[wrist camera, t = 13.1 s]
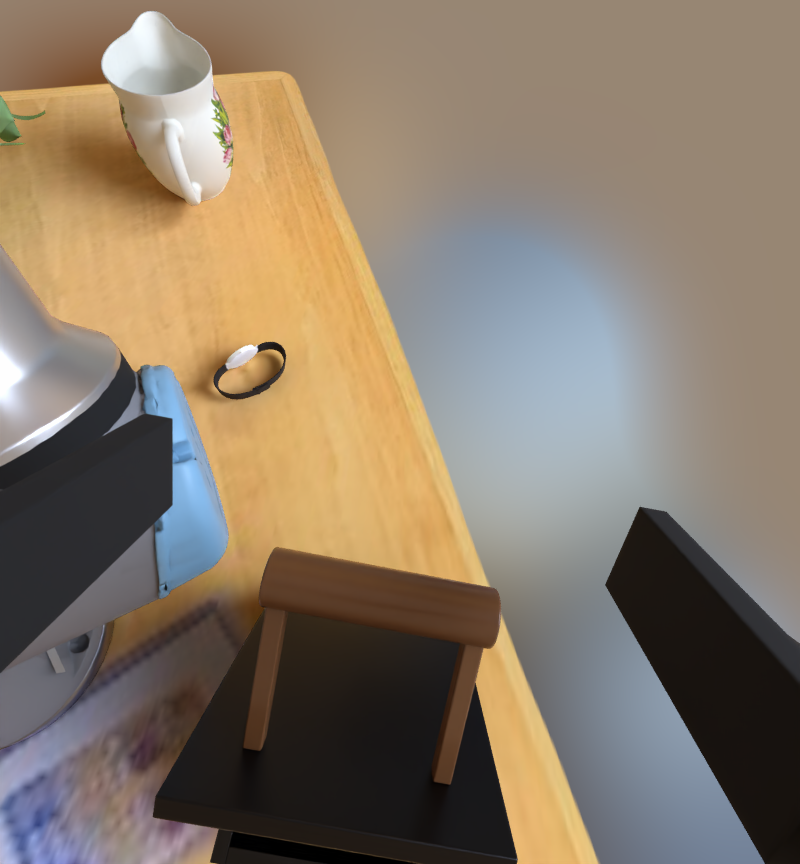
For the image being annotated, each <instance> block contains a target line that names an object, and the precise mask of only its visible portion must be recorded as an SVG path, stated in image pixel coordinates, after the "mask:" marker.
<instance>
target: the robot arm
mask: <svg viewBox="0 0 800 864" xmlns="http://www.w3.org/2000/svg"><path fill="white" fill-rule="evenodd" d="M227 544H228V528H227V524H226V519H225V515H224V511H223V507H222V503H221V500H220V496H219V493H218V490H217V486H216V483H215V480H214V477H213V473H212V470H211V467H210V464H209V461H208V458H207V455H206V452H205V449H204V446H203V444H202V441H201V438H200V435H199V432H198V429H197V426H196V424H195V421H194V418H193V416H192V413H191V410H190V408H189V405H188V403H187V400H186V398H185V395H184V393H183V390H182V388H181V386H180V384H179V382H178V381H177V380H176V378H175V376H174V372H173V371H172V370H171V369H170V368H169V367H167V366H164V365H158V366H150V365H144V366H141V369H140V370H138V371H137V372H135V371H133V370H132V368H131V367H130V365H129V364H128V362H127V361H126V359H125V358H124V356H123V355H122V353H121V352H120V350H119V348H118V347H117V346H116V344H115V343H114V342H113V341H112V340H111V338H110V337H109V336H107V335H105V334H103V333H101V332H98V331H94V330H91V329H87V328H84V327H80V326H76V325H73V324H69V323H66V322H62V321H61V320H59V319H57V318H55V317H53V316H52V315H51V314H50V313H49V311H48V310H47V309H46V307H45V306H44V304H43V303H42V302H41V300H40V299H39V297H38V296H37V295H36V293H35V292H34V290H33V289H32V288H31V286H30V285H29V283H28V282H27V281H26V279H25V278H24V276H23V275H22V274H21V272H20V271H19V269H18V268H17V267H16V265H15V264H14V262H13V261H12V260H11V258H10V257H9V255H8V254H7V253H6V251H5V250H4V248H3V247H2V246H1V244H0V750H1V749H3V748H6V747H9V746H12V745H14V744H16V743H19V742H21V741H23V740H25V739H27V738H29V737H31V736H33V735H35V734H37V733H38V732H40V731H41V730H43V729H45V728H46V727H47V726H49V725H50V724H52V723H53V722H54V721H56V720H57V719H58V718H59V717H60V716H61V715H63V714H64V713H65V712H66V711H67V710H68V709H69V708H70V707H71V706H72V705H73V704H74V703H75V702H76V701H77V700H78V698H79V697H80V696H81V695H82V694H83V693H84V691H85V690H86V689H87V687H88V686H89V685H90V683H91V681H92V680H93V678H94V677H95V675H96V674H97V672H98V670H99V668H100V666H101V664H102V662H103V660H104V658H105V655H106V653H107V650H108V647H109V644H110V641H111V637H112V633H113V626H114V619H116V618H118V617H121V616H123V615H125V614H127V613H129V612H131V611H133V610H136V609H138V608H140V607H142V606H144V605H146V604H149V603H151V602H153V601H155V600H157V599H162V598H164V597H166V596H168V595H169V593H170V592H171V590H173V589H175V588H177V587H178V586H180V585H182V584H184V583H186V582H187V581H189V580H191V579H193V578H195V577H196V576H198V575H200V574H202V573H204V572H205V571H207V570H209V569H211V568H212V567H213V566H214V565H216V564H217V563H218V561H219V560H220V559H221V557H222V556H223V554H224V553H225V549H226V548H227ZM605 585H606V587H607V589H608V591H609V592H610V594H611V596H612V598H613V599H614V601H615V603H616V605H617V606H618V608H619V610H620V612H621V613H622V615H623V617H624V618H625V620H626V622H627V624H628V625H629V627H630V629H631V631H632V632H633V634H634V636H635V638H636V639H637V641H638V643H639V645H640V646H641V648H642V650H643V652H644V653H645V655H646V656H647V659H648V660H649V662H650V664H651V666H652V667H653V669H654V671H655V673H656V674H657V676H658V678H659V680H660V681H661V683H662V685H663V687H664V688H665V690H666V692H667V693H668V695H669V697H670V699H671V700H672V702H673V704H674V706H675V707H676V709H677V711H678V713H679V714H680V716H681V718H682V720H683V721H684V723H685V725H686V726H687V728H688V730H689V732H690V734H691V735H692V737H693V739H694V741H695V742H696V744H697V746H698V747H699V749H700V751H701V753H702V755H703V756H704V758H705V760H706V761H707V763H708V765H709V767H710V768H711V770H712V772H713V773H714V775H715V777H716V779H717V781H718V782H719V784H720V786H721V788H722V789H723V791H724V793H725V795H726V796H727V798H728V800H729V801H730V803H731V805H732V807H733V809H734V810H735V812H736V814H737V815H738V817H739V819H740V821H741V822H742V824H743V826H744V828H745V829H746V831H747V833H748V835H749V836H750V838H751V840H752V842H753V843H754V845H755V847H756V849H757V850H758V852H759V854H760V855H761V857H762V859H763V861H764V863H765V864H800V643H798V642H797V641H795V640H794V639H793V638H791V637H790V636H789V635H787V634H786V633H785V632H784V631H783V630H782V629H781V628H780V627H779V626H778V624H777V623H776V622H774V621H773V620H772V618H770V617H769V615H767V614H766V612H765V611H764V610H763V609H762V608H761V607H760V606H759V605H758V604H757V603H756V602H755V601H754V600H753V599H752V598H751V597H750V596H749V595H748V594H747V593H746V592H745V591H744V590H743V589H742V588H741V587H740V586H739V585H738V584H737V583H736V582H735V581H734V580H733V579H732V578H731V577H730V576H729V575H728V574H727V573H726V572H725V571H724V570H723V569H722V568H721V567H720V566H719V565H718V564H717V563H716V562H715V561H714V560H713V559H712V558H711V557H710V556H709V555H708V554H707V553H706V552H705V551H704V550H703V549H702V548H701V547H700V546H699V545H698V544H697V542H696V541H695V540H694V539H693V538H692V537H690V536H689V534H688V533H687V532H686V531H685V530H683V528H682V527H681V526H680V525H679V524H678V523H677V522H676V521H675V520H674V519H673V518H672V517H671V516H670V515H669V514H668V513H667V512H664V511H659V510H654V509H648V508H643V507H639V510H638V512H637V514H636V517H635V519H634V521H633V523H632V526H631V528H630V530H629V532H628V535H627V537H626V539H625V541H624V544H623V546H622V548H621V550H620V553H619V555H618V557H617V559H616V562H615V564H614V566H613V568H612V571H611V573H610V575H609V577H608V580H607V582H606V584H605Z"/></svg>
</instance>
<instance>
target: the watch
mask: <svg viewBox="0 0 800 864" xmlns="http://www.w3.org/2000/svg"><path fill="white" fill-rule="evenodd" d="M268 349H273V350H277V351H279V352H280V353H281V354H282V356H283V358H284V363H283V366H282V368H281V369H280V371H279V372H278V373H277V374H276V375H275V376H274V377H273V378H271V379H270V380H268V381H267V382H265V383H263V384H262V385H260V386H257V387H255V388H253V390H252V391H249V392H245V393H241V394H229V393H225V392H223V391H221V390H220V389H219V387H218V381H219V379H220V377H221V376H222V375H223V374H224V373H225V372H226V371H227V370H229V369H233V368H237V367H239V366H241V365H243V364H245V363H246V362H248V361H249V360H251V359H252V358H253V357H254V356H255V355H256V353H257V352H260V351H263V350H268ZM285 360H286V354H285V350H284V348H283V347H282V346H281V345H280V344H278V343H275V342H265V343H262V344H260V345H257V346H255V347H254V346H253V345H248V346H245V347H242V348H240V349H238V350H237V351H235V352H234V353H233V354H232V355H231V356H230V357H229V358H228V359H227V363H226V364H225V365H223V366H222V367H221V368H220V369H218V371H217V372H216V374H215V376H214V385H215V387H216V388H217V389H218V391H219V392H220V393H221V394H222V395H223V396H225V397H227V398H230V399H243V398H248V397H251V396H254V395H257V394H260V393H261V392H263V391H265V390H267V389H268V388H269V387H270V385H271V384H273V383H274V382H275V381H276V380H277V379H278V378H279V377H280V376H281V374H282V373H283V371H284V368H285Z"/></svg>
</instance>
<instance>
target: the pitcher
mask: <svg viewBox="0 0 800 864" xmlns="http://www.w3.org/2000/svg"><path fill="white" fill-rule="evenodd" d="M101 68H102V71H103V74H104V76H105V78H106V79H107V81H108V82H109V84H110V85H111V87H112V88H113V90H114V91H115V93H116V94H117V96H118V98H119V103H120V110H121V116H122V120H123V124H124V127H125V129H126V132H127V135H128V137H129V139H130V141H131V143H132V145H133V147H134V149H135V151H136V152H137V154H138V155H139V157H140V159H141V160H142V162H143V163H144V164H145V166H146V167H147V168H148V170H149V171H150V172H151V173H152V174H153V175H154V177H155V178H156V179H157V180H158V181H159V182H160V183H161V184H162V185H164V186H165V187H166V188H167V189H168V190H170V191H171V192H173V193H175V194H176V195H178V196H179V197H181V198H183V199H185V200H186V202H187V203H188V204H190V205H192V206H196V205H199V204H200V202H201V201H205V200H209V199H212V198H214V197H216V196H218V195H219V194H220V193H221V192H222V191H223V190H224V188H225V186H226V184H227V182H228V180H229V178H230V174H231V170H232V164H233V139H232V132H231V127H230V123H229V119H228V115H227V112H226V109H225V107H224V105H223V103H222V100H221V99H220V97H219V95H218V93H217V91H216V89H215V88H214V86H213V77H212V64H211V59H210V57H209V54H208V53H207V51H206V50H205V49H204V48H203V46H202V45H201V44H199V43H198V42H197V41H196V40H194V39H193V38H191V37H189V36H187V35H186V34H184V33H182V32H180V31H179V30H177V29H176V28H175V27H174V25H173V24H172V23H171V21H169V19H168V18H167V17H166V16H164V15H163V14H162V13H158V12H156V11H149V12H145V13H142V14H141V15H140V16H139V17H138V18H137V19H136V21H135V22H134V24H133V25H132V28H131V29H130V30H129V31H128V32H127V33H125V34H124V35H122V36H121V37H119V38H118V39H116V40H115V41H114V42H113V43H112V44H111V45H110V46H109V47H108V48H107V50H106V51H105V53H104V55H103V58H102V60H101Z"/></svg>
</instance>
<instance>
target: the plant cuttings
mask: <svg viewBox="0 0 800 864" xmlns="http://www.w3.org/2000/svg"><path fill="white" fill-rule="evenodd" d="M44 114H45V111H44V112H42V113H40V114H38V115H34V116H18V115H14V114H11V113H10V110H9V108H8V107H7V105H6V103H5V101H4V100H3V98H2V97H1V96H0V138H1V139H2V140H3V141H6V142H11V141H14V140H16V139H17V138H19V137H20V136H21V134H20V133H19V131H18V129H17V127H16V125H15V123H14V121H15V120H14V119H13V117H14V118H17V119H21V120H31V119H35V118H37V117H40V116H42V115H44ZM21 137H22V136H21ZM23 144H24V143H1V144H0V145H23Z"/></svg>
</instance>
